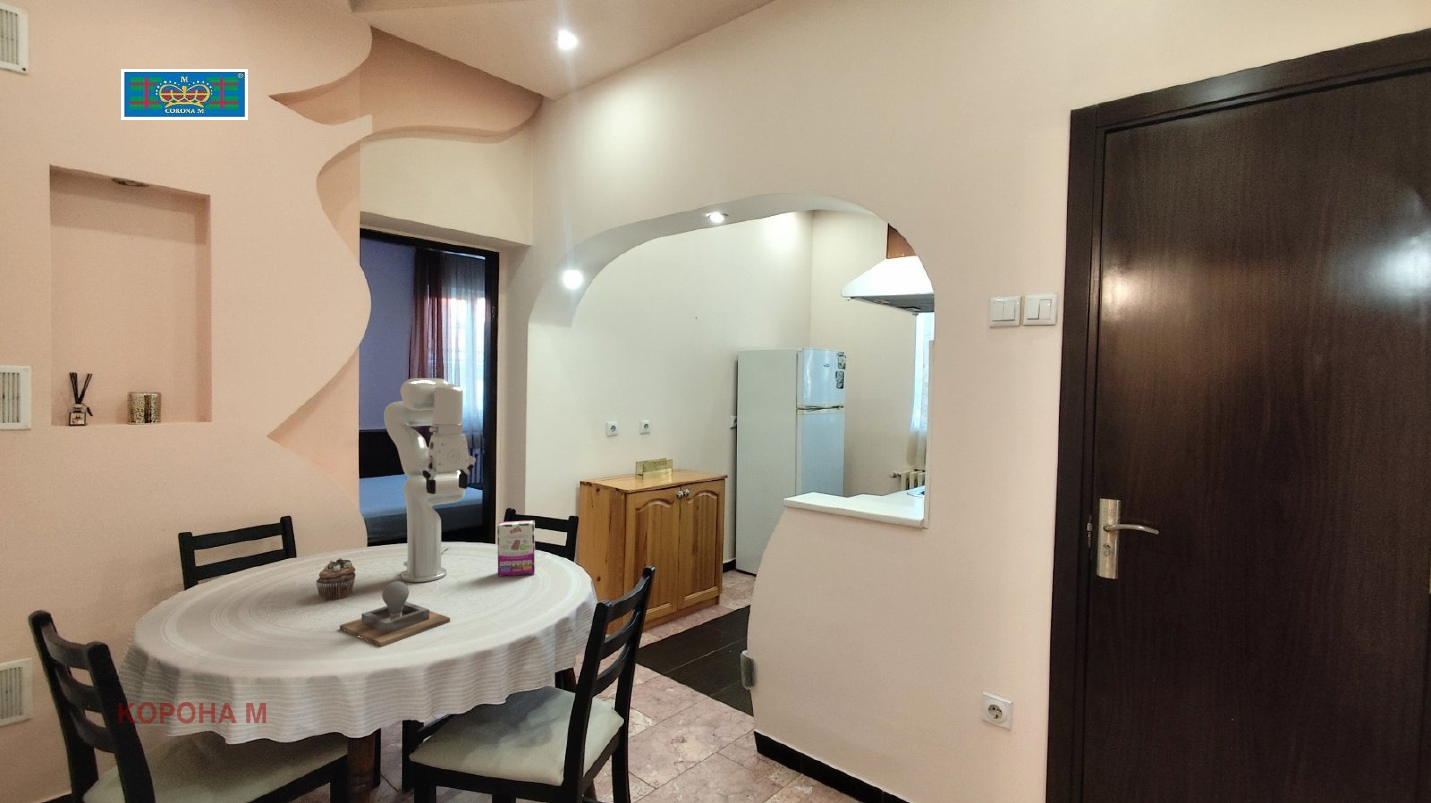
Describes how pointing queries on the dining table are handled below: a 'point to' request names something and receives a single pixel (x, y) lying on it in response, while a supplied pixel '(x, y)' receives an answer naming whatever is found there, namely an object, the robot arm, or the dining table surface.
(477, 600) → the dining table surface
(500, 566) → the candy bar box
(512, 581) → the dining table surface
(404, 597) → the light bulb
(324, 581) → the cupcake
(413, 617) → the socket holder
